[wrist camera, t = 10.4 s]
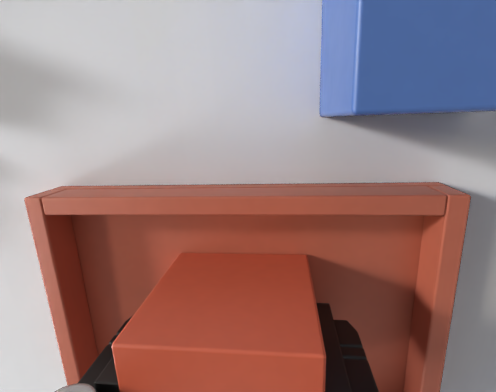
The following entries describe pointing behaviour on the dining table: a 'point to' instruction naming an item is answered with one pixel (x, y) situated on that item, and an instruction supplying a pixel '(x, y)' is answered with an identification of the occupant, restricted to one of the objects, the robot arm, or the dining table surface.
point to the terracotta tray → (261, 242)
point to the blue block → (407, 57)
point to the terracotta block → (225, 328)
